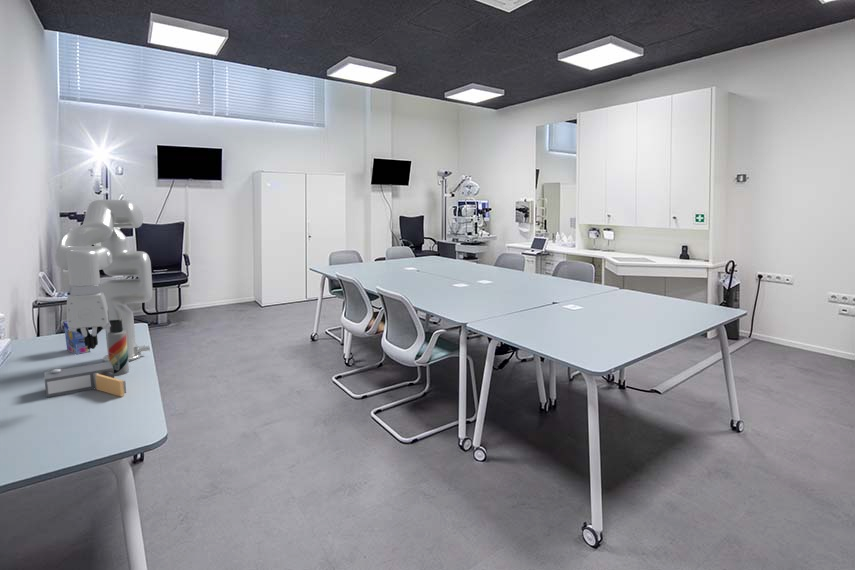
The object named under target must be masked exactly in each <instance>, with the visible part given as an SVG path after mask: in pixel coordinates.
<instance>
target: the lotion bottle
mask: <svg viewBox="0 0 855 570" xmlns="http://www.w3.org/2000/svg"><path fill="white" fill-rule="evenodd" d="M109 322H110V325H111V327H110V332H109V333H107V339H108V350H109V361H110V362H111V364H112V366H113V370H114V376H121V374H122V375H125V374H127V372H128V373H129V372H130V364H129V362H130V361H128V349H127V337H126V331H123V326H122V319H119V320H109Z"/></svg>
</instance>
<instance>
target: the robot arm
mask: <svg viewBox="0 0 855 570" xmlns="http://www.w3.org/2000/svg"><path fill="white" fill-rule="evenodd" d="M143 223H144V215H143V210H141V208H140V207H139V206H138V204H136V203H135V202H133V201H131V200H127V199H125V200H124V199H95V200H93V201H91V202H90V203H89V204H88V206H87V209H86V212H85V216H84V219H83V223H82V224H81V225H79V226H76V227H75V228H73V229H71V230H69V231H68V232H66V233H64V235H62V236H61V237H60V239H59V241H58V244H57V246H56V249H55V253H54V261H55V264H56V266H57V267H58V268H59V269H61V270H64V271H68V281H69V286H64V288H63V289H64V292H68V293H69V295H67V297H66V321H67V325H68V330H69V331H74V332H78V333H80V334H81V335H82V336H83V337H84V339H85V346H87V347H88V349H90V350H91V349H92V350H94V349H95V348H96V347H97V346H98V343H99V341H98V335H99V333H100V332H101V331H103V330H105V339H106V350H107V354H106V355H104V357H103V358H102V360H103V363H105V362H110V361H109V350H108V339H107V333H109V332H110V327H111V325H110V322H109V320H119V319H122V326H123V331H126V337H127V349H128V361H129V362H132V361H134V360H137V358H138V359H140V358H141V357H142V352H148V351H151V348H150V345H139V346H138V345H137V344H136V334H135V333H136V332H135V321H134V319H135V318H134V313H133V311H132V310H131V308H129V307H128V306H127V304H128V305H129V304H139V303H140V304H141V303H143V304H144V303H148V302H150V301H151V300H152V298H153V276H152V274H153V273H152V262H151V259H150V255H149V254H148V253H147V252H146V251H142V250H140V251H139V250H134V251H133V250H129V248H128V238H127V236H126V235H125V234H124V233H123V232H122V230H120V229H138V228H140V227H141V226H142V225H143ZM96 244H100V245H96ZM101 270H102V271H103V272H104V274H105V275H106V276H112V277H114V276H115V277H121V276H126V277H127V276H128V277H129V276H136V277H137V278H129V279H127V278H122V279H118V278H117V279H115V278H114V279H108V280H105V281H103V282H102V283H101V273H100V271H101ZM89 328H92V329H91V333H90V331H89Z"/></svg>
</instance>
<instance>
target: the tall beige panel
mask: <svg viewBox="0 0 855 570" xmlns="http://www.w3.org/2000/svg"><path fill="white" fill-rule="evenodd" d="M93 377H94V387H95V389H94V390H97V391H101V392H105V393H108V394H110V395H114V396H117V397H124V396H125V394H127V385H126V384H127V383H126V380H122V379H119V378H115V377H114V378H112V377H108V376H104V375H100V374H98V373H94V374H93Z"/></svg>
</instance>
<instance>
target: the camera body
mask: <svg viewBox="0 0 855 570" xmlns="http://www.w3.org/2000/svg"><path fill="white" fill-rule="evenodd" d="M43 373H44V386H45V393H46V398H50V397H56V396H62V395H63V396H64V395H67V394H73V393H77V392H83V391H88V390H93V389H94V388H95V387H94V377H93V374H94V373H98V374H100V375H104V376H108V377H112V378H115V375H114V370H113V366H112V364H111V362H100V363H93V364H87V365H81V366H76V367H75V366H74V367H69V368H68V367H67V368H55V369H51V370H48V371H44V372H43ZM94 390H95V389H94Z"/></svg>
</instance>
